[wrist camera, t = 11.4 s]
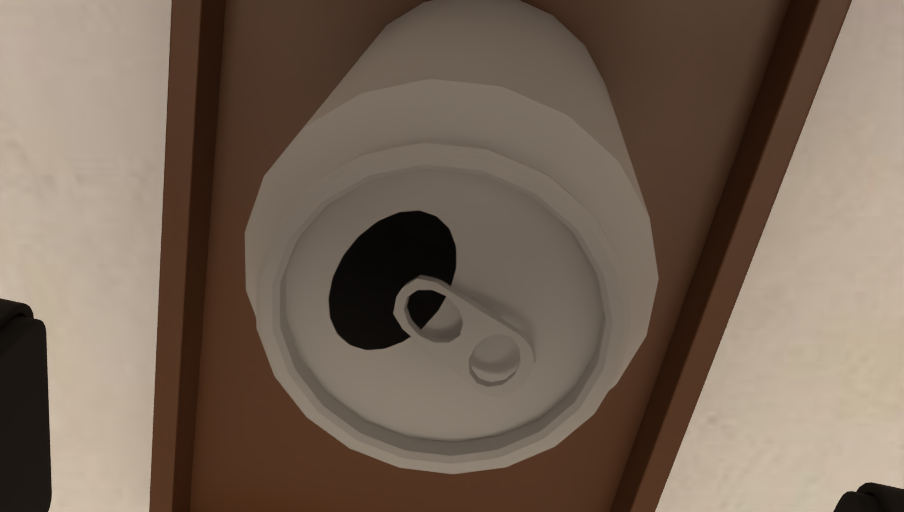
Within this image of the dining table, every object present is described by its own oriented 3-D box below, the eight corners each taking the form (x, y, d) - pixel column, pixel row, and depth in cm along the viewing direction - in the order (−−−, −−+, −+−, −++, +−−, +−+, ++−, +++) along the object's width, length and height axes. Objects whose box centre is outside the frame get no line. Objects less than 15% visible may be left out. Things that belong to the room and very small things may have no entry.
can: (434, -69, 23) (348, 4, 12) (663, 84, 24) (775, 278, 13) (304, 156, 26) (141, 380, 15) (513, 282, 27) (503, 573, 16)
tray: (219, -241, 22) (182, -252, 19) (853, -107, 22) (892, -101, 20) (173, 513, 33) (146, 563, 31) (595, 598, 33) (600, 655, 31)
